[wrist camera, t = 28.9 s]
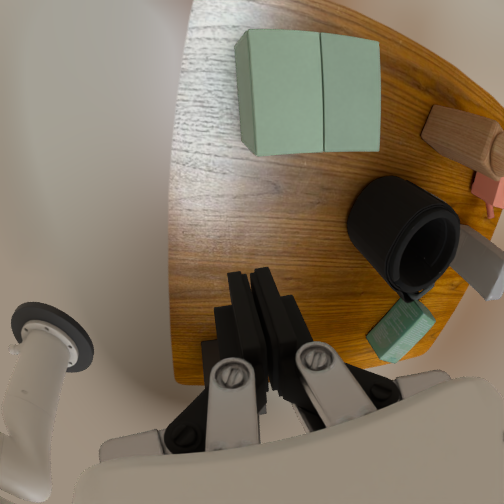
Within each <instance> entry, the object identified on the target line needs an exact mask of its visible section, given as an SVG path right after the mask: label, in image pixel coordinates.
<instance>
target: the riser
mask: <svg viewBox="0 0 504 504" xmlns="http://www.w3.org/2000/svg"><path fill="white" fill-rule="evenodd" d="M201 347H202V359H203V371H204V382H205V388H206V387H207V386H208V385H209V384H210V374H211V370H212V368H213V367H214V366H215V365H216V364H217V363H218V362H219V361H220V354H219V347H218V339H217V340H210V341H203V342H201ZM266 413H267V412H266V404H265V405H264V407H263V408H262V409H261V411H260V412H259V415H262V414H266Z"/></svg>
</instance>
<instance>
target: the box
mask: <svg viewBox="0 0 504 504" xmlns="http://www.w3.org/2000/svg"><path fill="white" fill-rule="evenodd" d="M435 322H436V320H435V318H434V317H433V315H432V314H431V312H430V311H429V310H428V309H427V308H426V307H425V306H424V305H423V304H422V303H421V302H420V301H418V300H415V301H413V302H411V303H405V302H404V301H403V300H402V298H400V299H399V300H398V301H397V303H396V304H395V305H394V306H393V307H392V308H391V309H390V310H389V312H388V313H387V314H386V315H385V316H384V317H383V318H382V319H381V321H380V322H379V323H378V324H377V325H376V326H375V327H374V328H373V329H372V330H371V332H370V333H369V334H368V335H367V336H366V338H367V340H368V342H369V343H370V345H371V346H372V348H373V349H374V351H375V353H376V354H377V356H378V358H379V359H380V360H384V361H387V362H391V363H397V362H398V361H399V360H400V359H401V358H402V357H403V356H404V355H405V354H406V353H407V352H408V351H409V350H410V349H411V348H412V347H413V346H414V345H415V344H416V343H417V342H418V341H419V340H420V339H421V338H422V337H423V336H424V335H425V334H426V333H427V332H428V330H429V329H430V328H431V327H432V326H433V325H434V323H435Z"/></svg>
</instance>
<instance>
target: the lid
mask: <svg viewBox="0 0 504 504" xmlns="http://www.w3.org/2000/svg"><path fill="white" fill-rule="evenodd" d="M248 38H249V51H250V65H251V79H252V93H253V108H254V123H255V138H256V154H257V156H258V157H259V156H269V155H282V154H296V153H313V152H323V99H322V73H321V54H320V40H319V32H311V31H299V30H281V29H249V30H248Z"/></svg>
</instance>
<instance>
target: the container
mask: <svg viewBox="0 0 504 504" xmlns="http://www.w3.org/2000/svg"><path fill="white" fill-rule="evenodd" d="M319 40H320V54H321V73H322V99H323V151H324V152H346V151H379V144H380V119H381V78H380V53H379V42H377V41H372V40H367V39H362V38H356V37H351V36H344V35H338V34H330V33H322V32H321V33H319ZM234 49H235V62H236V76H237V89H238V102H239V115H240V128H241V141H242V142H243V143H244V144H245V145H246V146H247V147H248V148H249V149H250V151H251V152H252V153H253V154H254V155H257V154H256V138H255V123H254V108H253V93H252V79H251V65H250V51H249V38H248V31H246V32H245V33H244V34H243V36H242V37H241V38H240V40H239V41H238V42H237V44H236V45H235V46H234Z"/></svg>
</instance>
